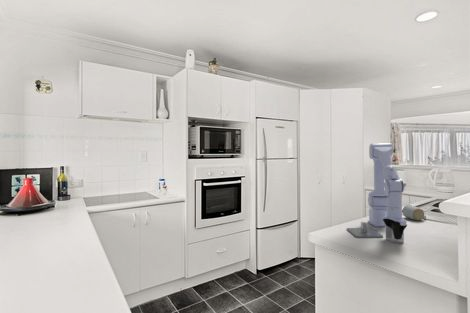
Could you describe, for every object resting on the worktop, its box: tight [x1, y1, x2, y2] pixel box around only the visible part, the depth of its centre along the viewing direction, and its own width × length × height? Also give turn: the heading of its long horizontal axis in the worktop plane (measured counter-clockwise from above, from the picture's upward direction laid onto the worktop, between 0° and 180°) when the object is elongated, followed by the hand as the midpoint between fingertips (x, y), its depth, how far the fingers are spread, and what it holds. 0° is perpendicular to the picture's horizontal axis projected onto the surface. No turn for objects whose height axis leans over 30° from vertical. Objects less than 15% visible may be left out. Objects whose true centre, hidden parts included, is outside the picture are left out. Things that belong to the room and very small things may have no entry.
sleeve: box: [385, 226, 405, 244], centre depth 114 cm, size 5×5×6 cm
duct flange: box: [346, 221, 384, 239], centre depth 124 cm, size 12×12×5 cm
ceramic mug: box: [402, 204, 427, 221], centre depth 146 cm, size 11×8×8 cm
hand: (394, 236), depth 114 cm, fingers closed on sleeve, 5 cm apart
